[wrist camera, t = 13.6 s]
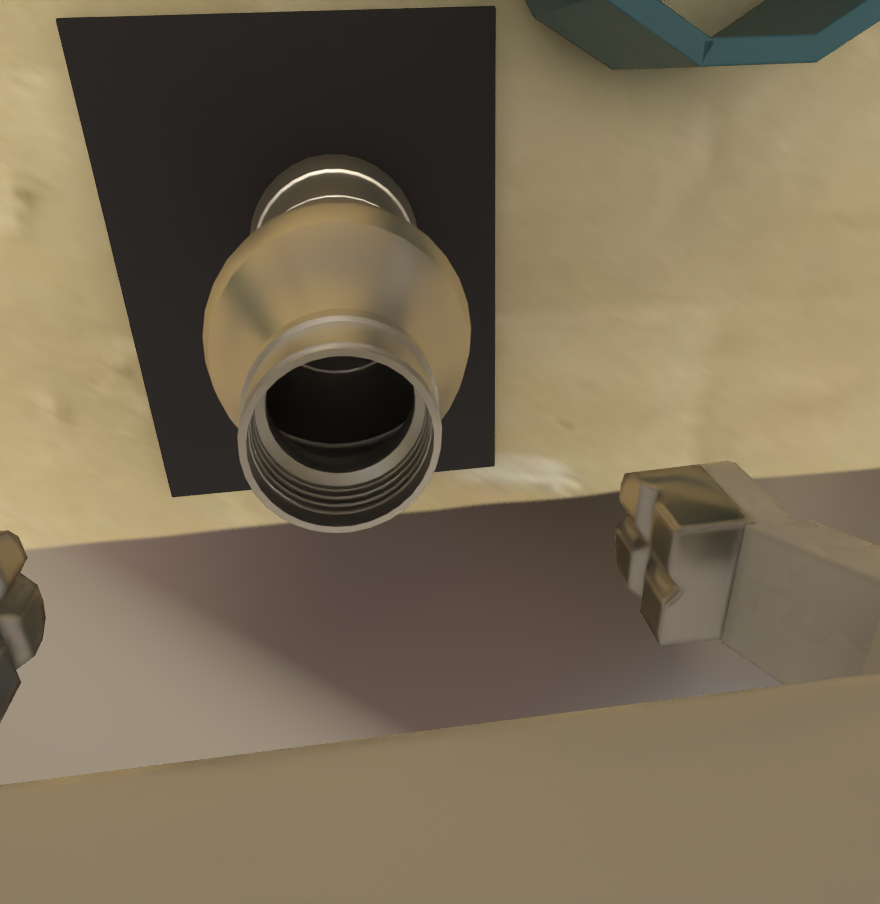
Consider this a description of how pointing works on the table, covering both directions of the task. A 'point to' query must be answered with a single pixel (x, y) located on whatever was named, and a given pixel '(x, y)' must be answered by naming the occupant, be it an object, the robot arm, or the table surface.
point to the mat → (265, 157)
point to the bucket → (683, 45)
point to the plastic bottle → (336, 346)
